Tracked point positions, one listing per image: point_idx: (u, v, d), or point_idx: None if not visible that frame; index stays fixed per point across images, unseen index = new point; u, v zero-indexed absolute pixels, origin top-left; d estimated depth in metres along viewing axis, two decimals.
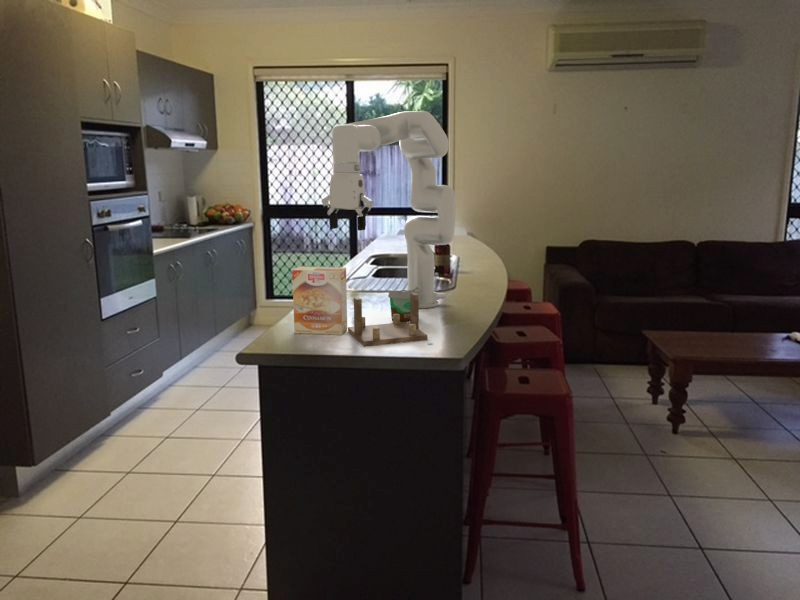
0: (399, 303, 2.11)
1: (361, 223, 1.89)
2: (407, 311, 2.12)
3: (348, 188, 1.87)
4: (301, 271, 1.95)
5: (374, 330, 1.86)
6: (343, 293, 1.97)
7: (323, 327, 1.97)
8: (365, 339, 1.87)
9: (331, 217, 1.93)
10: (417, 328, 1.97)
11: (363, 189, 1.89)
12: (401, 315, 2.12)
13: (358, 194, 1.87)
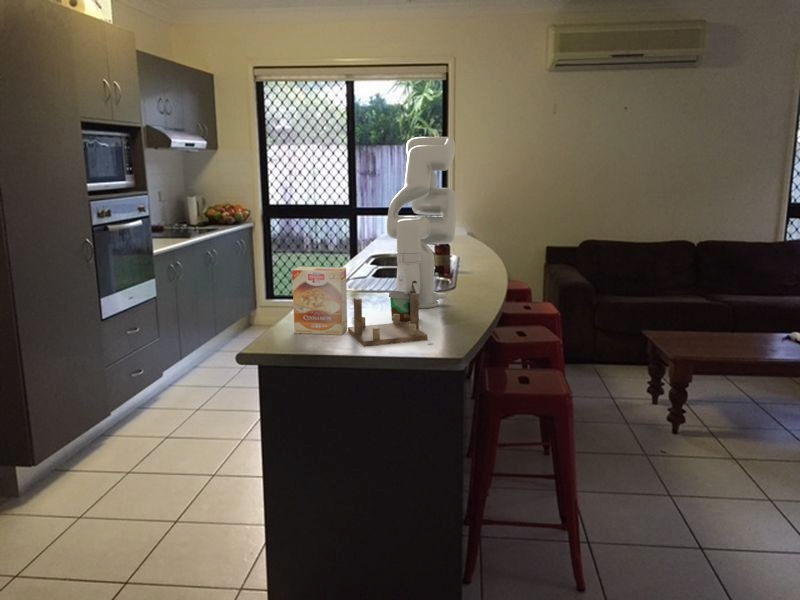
0: (399, 302, 2.11)
1: None
2: (407, 311, 2.12)
3: None
4: (301, 271, 1.95)
5: (374, 330, 1.86)
6: (343, 293, 1.97)
7: (323, 327, 1.97)
8: (365, 339, 1.87)
9: None
10: (417, 328, 1.97)
11: None
12: (401, 315, 2.12)
13: None
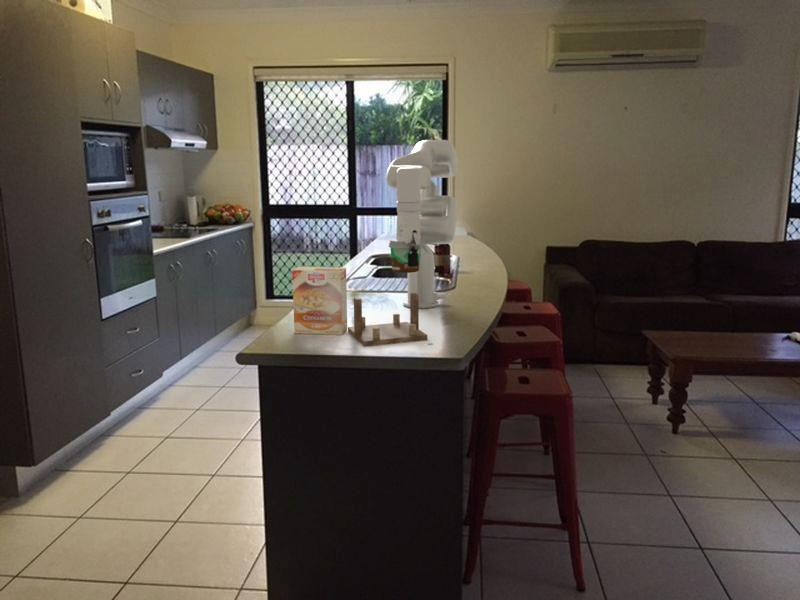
0: (399, 252, 2.08)
1: None
2: None
3: None
4: (301, 271, 1.95)
5: (374, 330, 1.86)
6: (343, 293, 1.97)
7: (323, 327, 1.97)
8: (365, 339, 1.87)
9: None
10: (417, 328, 1.97)
11: None
12: (402, 265, 2.09)
13: None
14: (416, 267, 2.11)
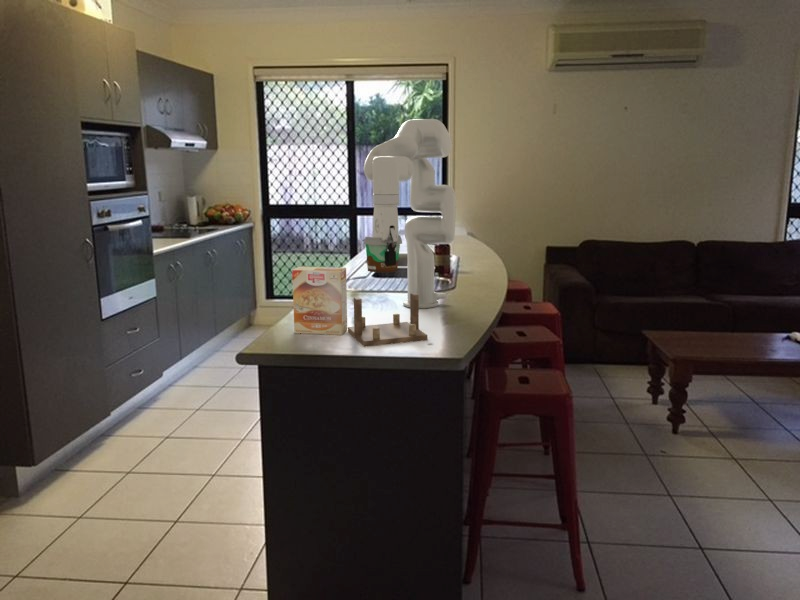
0: (375, 250, 1.88)
1: None
2: None
3: None
4: (301, 271, 1.95)
5: (374, 330, 1.86)
6: (343, 293, 1.97)
7: (323, 327, 1.97)
8: (365, 339, 1.87)
9: None
10: (417, 328, 1.97)
11: None
12: (378, 264, 1.89)
13: None
14: (394, 266, 1.91)
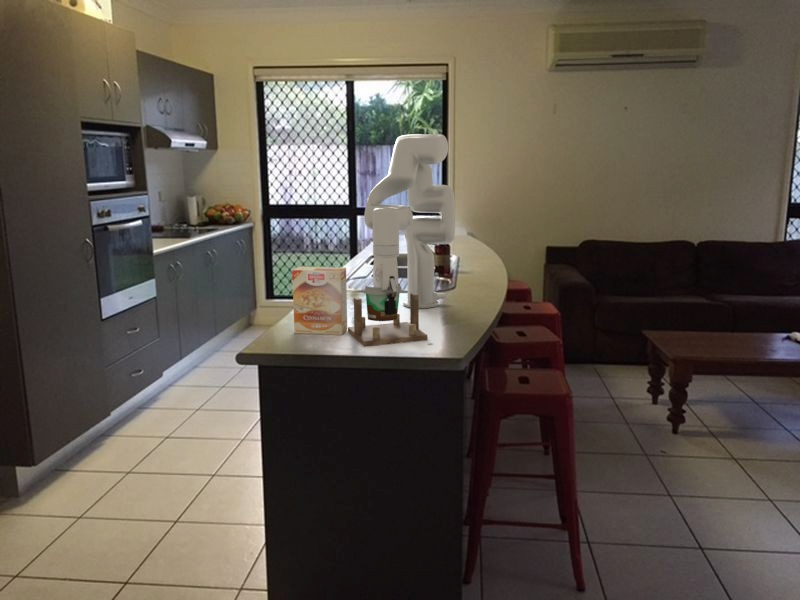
0: (375, 299, 1.90)
1: None
2: (384, 309, 1.91)
3: None
4: (301, 271, 1.95)
5: (374, 330, 1.86)
6: (343, 293, 1.97)
7: (323, 327, 1.97)
8: (365, 339, 1.87)
9: None
10: (417, 328, 1.97)
11: None
12: (378, 313, 1.91)
13: None
14: (394, 315, 1.93)
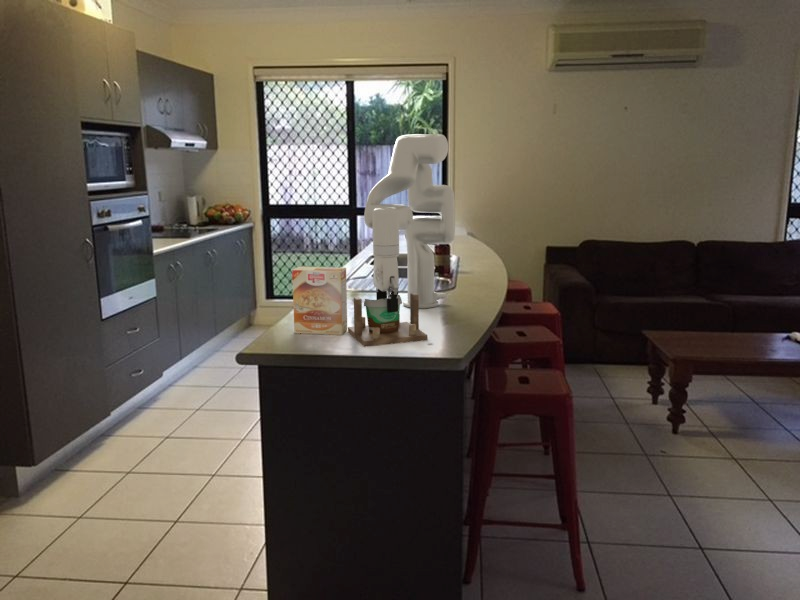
0: (375, 312, 1.91)
1: None
2: (385, 321, 1.92)
3: None
4: (301, 271, 1.95)
5: (374, 330, 1.86)
6: (343, 293, 1.97)
7: (323, 327, 1.97)
8: (365, 339, 1.87)
9: None
10: (417, 328, 1.97)
11: None
12: (378, 325, 1.92)
13: None
14: (395, 327, 1.94)
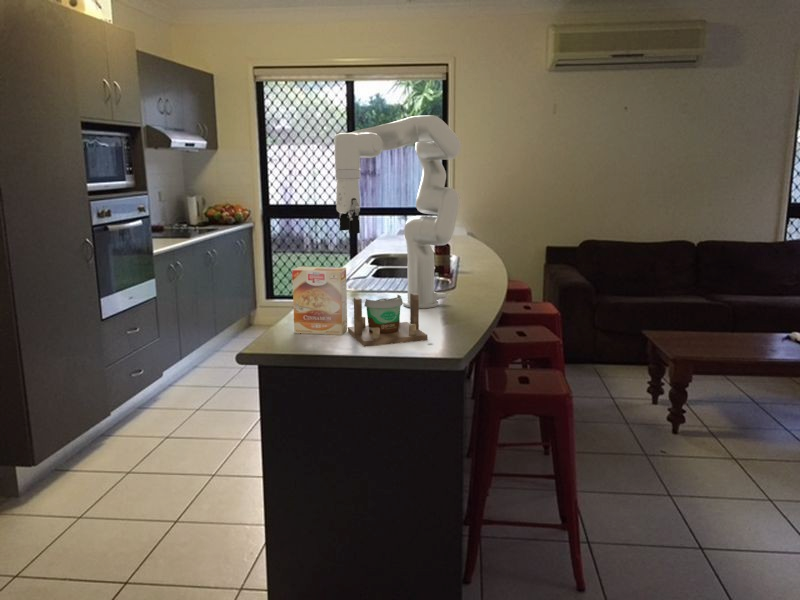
0: (376, 312, 1.91)
1: None
2: (385, 322, 1.91)
3: None
4: (301, 271, 1.95)
5: (374, 330, 1.86)
6: (343, 293, 1.97)
7: (323, 327, 1.97)
8: (365, 339, 1.87)
9: None
10: (417, 328, 1.97)
11: None
12: (378, 326, 1.92)
13: None
14: (395, 327, 1.94)
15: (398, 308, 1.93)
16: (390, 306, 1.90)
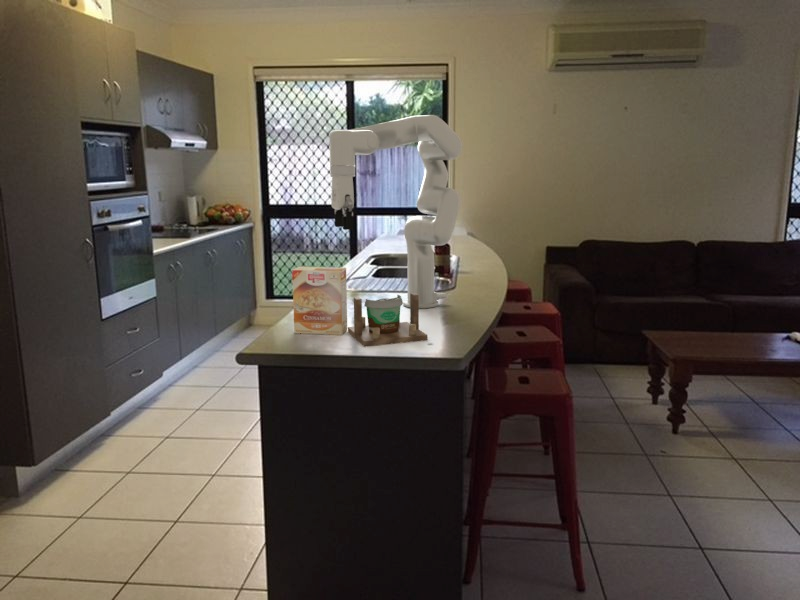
0: (376, 312, 1.91)
1: None
2: (385, 322, 1.91)
3: None
4: (301, 271, 1.95)
5: (374, 330, 1.86)
6: (343, 293, 1.97)
7: (323, 327, 1.97)
8: (365, 339, 1.87)
9: None
10: (417, 328, 1.97)
11: None
12: (378, 326, 1.92)
13: None
14: (395, 327, 1.94)
15: (398, 308, 1.93)
16: (390, 306, 1.90)
